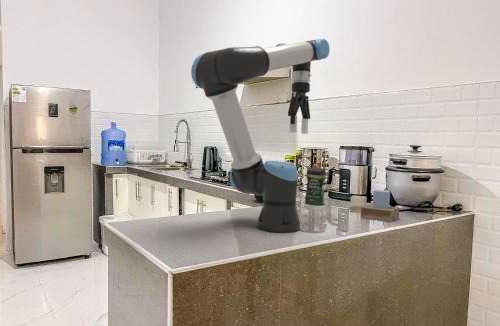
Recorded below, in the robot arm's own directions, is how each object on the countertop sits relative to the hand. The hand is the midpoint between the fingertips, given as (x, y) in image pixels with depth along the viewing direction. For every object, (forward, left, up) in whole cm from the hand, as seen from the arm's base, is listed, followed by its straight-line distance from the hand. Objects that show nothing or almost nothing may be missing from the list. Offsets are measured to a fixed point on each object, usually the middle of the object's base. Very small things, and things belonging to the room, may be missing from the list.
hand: (298, 133), depth 165 cm
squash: (+25, +25, -35) cm, 50 cm away
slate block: (+14, -33, -30) cm, 47 cm away
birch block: (+25, -21, -35) cm, 48 cm away
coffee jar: (+35, +3, -35) cm, 50 cm away
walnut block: (+14, -32, -35) cm, 50 cm away
